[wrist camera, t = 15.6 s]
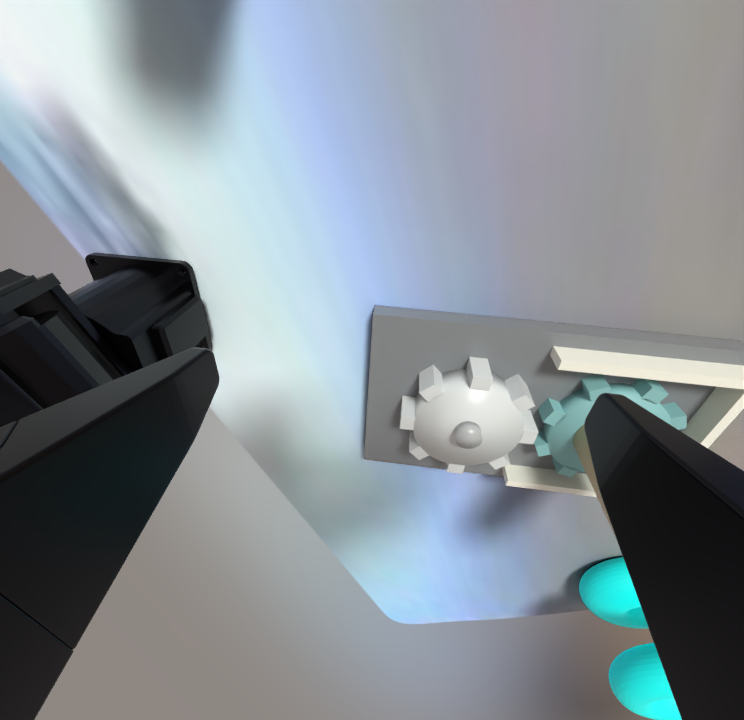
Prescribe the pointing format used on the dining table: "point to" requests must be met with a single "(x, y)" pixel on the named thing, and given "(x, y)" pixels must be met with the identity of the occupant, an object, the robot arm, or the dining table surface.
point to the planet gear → (568, 418)
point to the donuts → (640, 663)
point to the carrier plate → (523, 388)
